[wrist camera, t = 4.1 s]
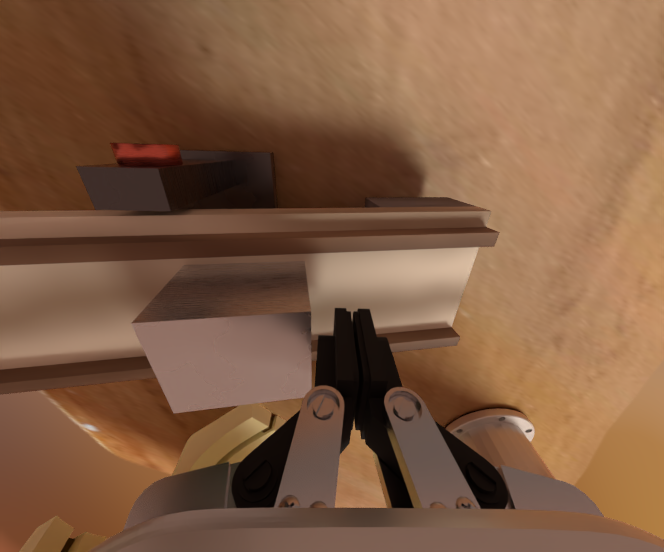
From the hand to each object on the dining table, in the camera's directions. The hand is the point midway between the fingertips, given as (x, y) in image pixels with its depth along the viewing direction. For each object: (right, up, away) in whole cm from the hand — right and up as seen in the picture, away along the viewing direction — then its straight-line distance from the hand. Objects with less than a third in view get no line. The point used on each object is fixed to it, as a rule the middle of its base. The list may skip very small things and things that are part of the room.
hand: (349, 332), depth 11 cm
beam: (-10, +3, +5) cm, 11 cm away
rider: (-5, +1, +2) cm, 6 cm away
